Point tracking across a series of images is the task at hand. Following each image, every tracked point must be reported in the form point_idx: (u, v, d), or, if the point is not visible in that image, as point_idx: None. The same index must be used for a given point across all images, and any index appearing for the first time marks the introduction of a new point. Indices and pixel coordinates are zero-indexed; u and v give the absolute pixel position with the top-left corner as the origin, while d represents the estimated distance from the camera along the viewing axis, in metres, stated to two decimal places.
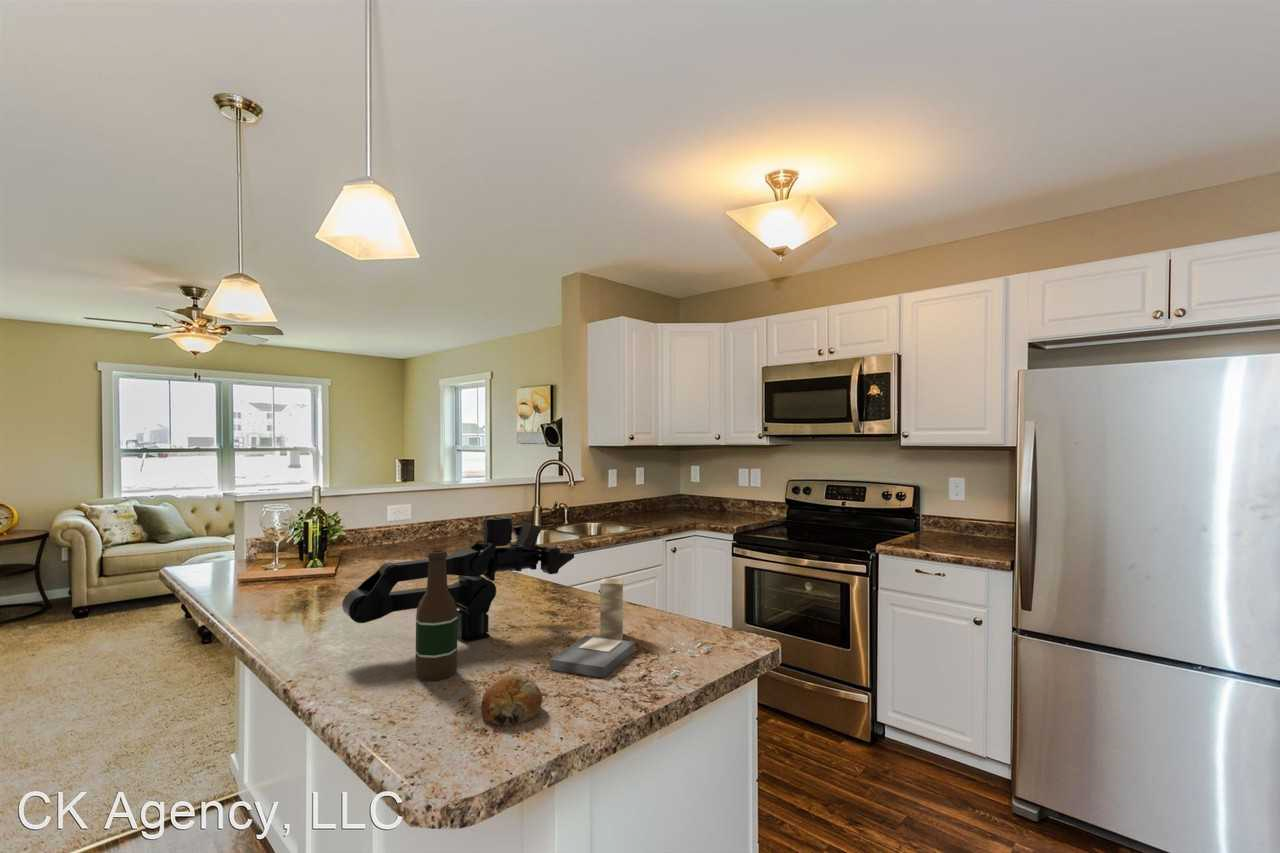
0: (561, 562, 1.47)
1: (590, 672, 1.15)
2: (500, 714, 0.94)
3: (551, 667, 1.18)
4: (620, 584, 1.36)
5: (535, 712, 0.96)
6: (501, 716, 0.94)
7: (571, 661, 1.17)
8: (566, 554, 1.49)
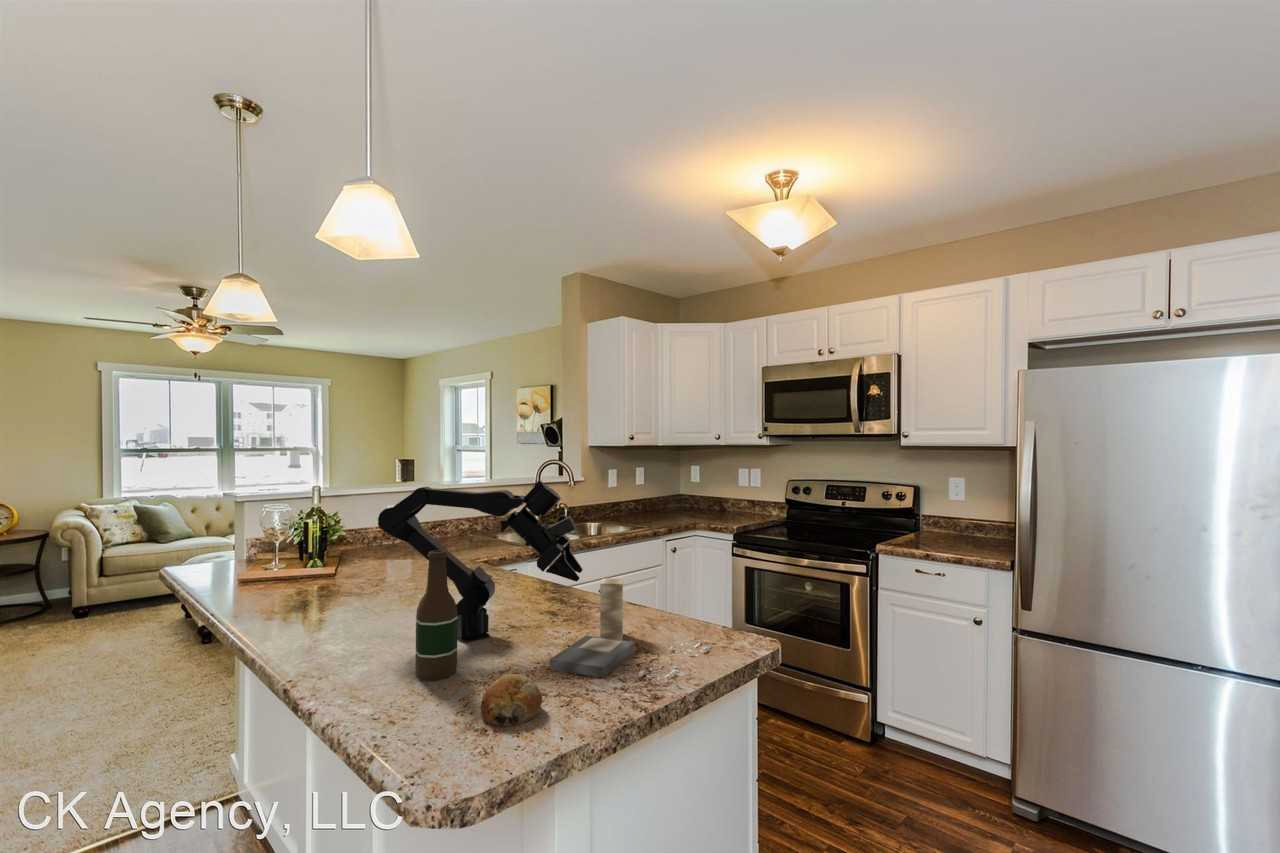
0: (559, 571, 1.33)
1: (590, 672, 1.15)
2: (500, 714, 0.94)
3: (551, 667, 1.18)
4: (620, 584, 1.36)
5: (535, 713, 0.96)
6: (501, 716, 0.94)
7: (571, 661, 1.17)
8: (570, 570, 1.34)
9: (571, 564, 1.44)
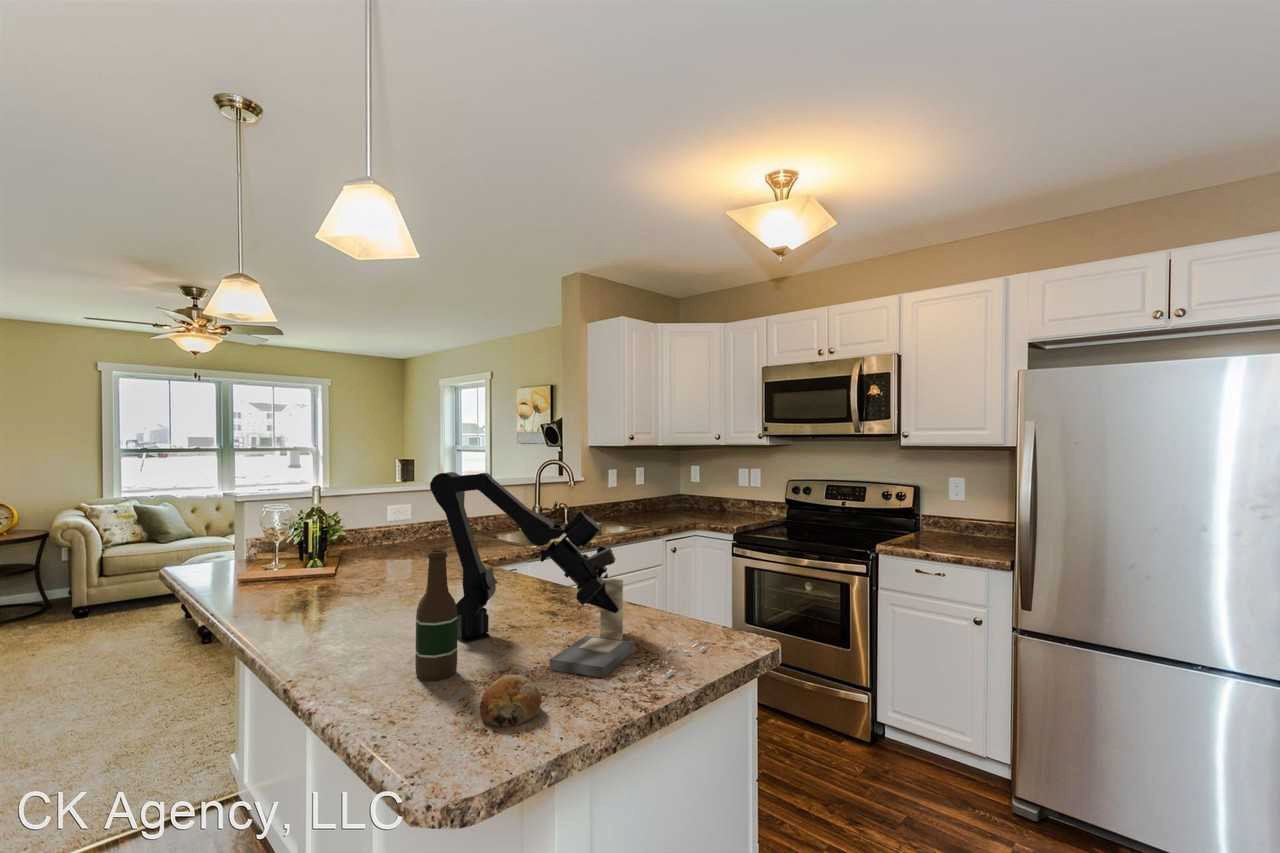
0: (599, 602, 1.34)
1: (590, 672, 1.15)
2: (499, 715, 0.94)
3: (551, 667, 1.18)
4: (620, 584, 1.36)
5: (534, 713, 0.96)
6: (500, 717, 0.94)
7: (571, 661, 1.17)
8: (610, 601, 1.34)
9: None
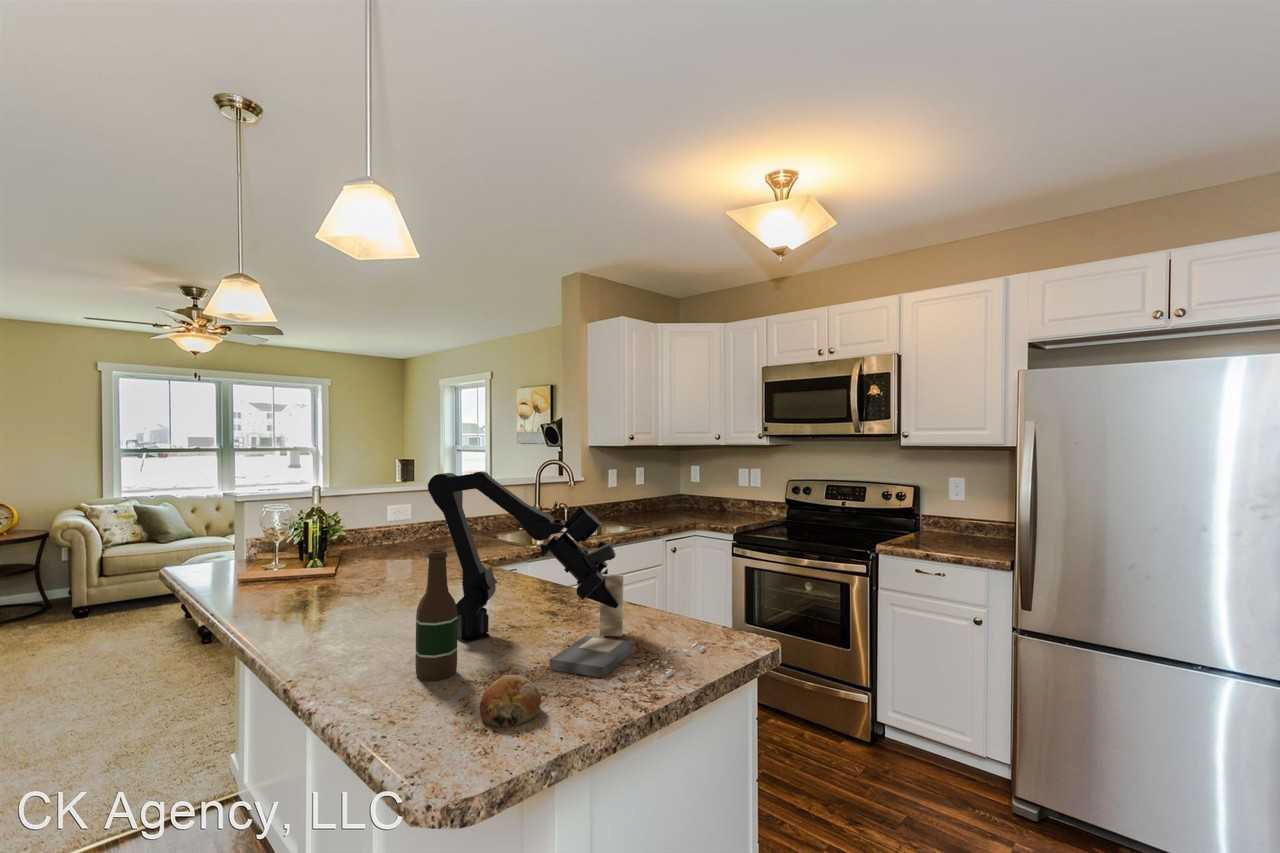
0: (599, 597, 1.34)
1: (590, 672, 1.15)
2: (499, 715, 0.94)
3: (551, 667, 1.18)
4: (620, 579, 1.36)
5: (534, 713, 0.96)
6: (499, 717, 0.94)
7: (571, 661, 1.17)
8: (610, 596, 1.35)
9: None
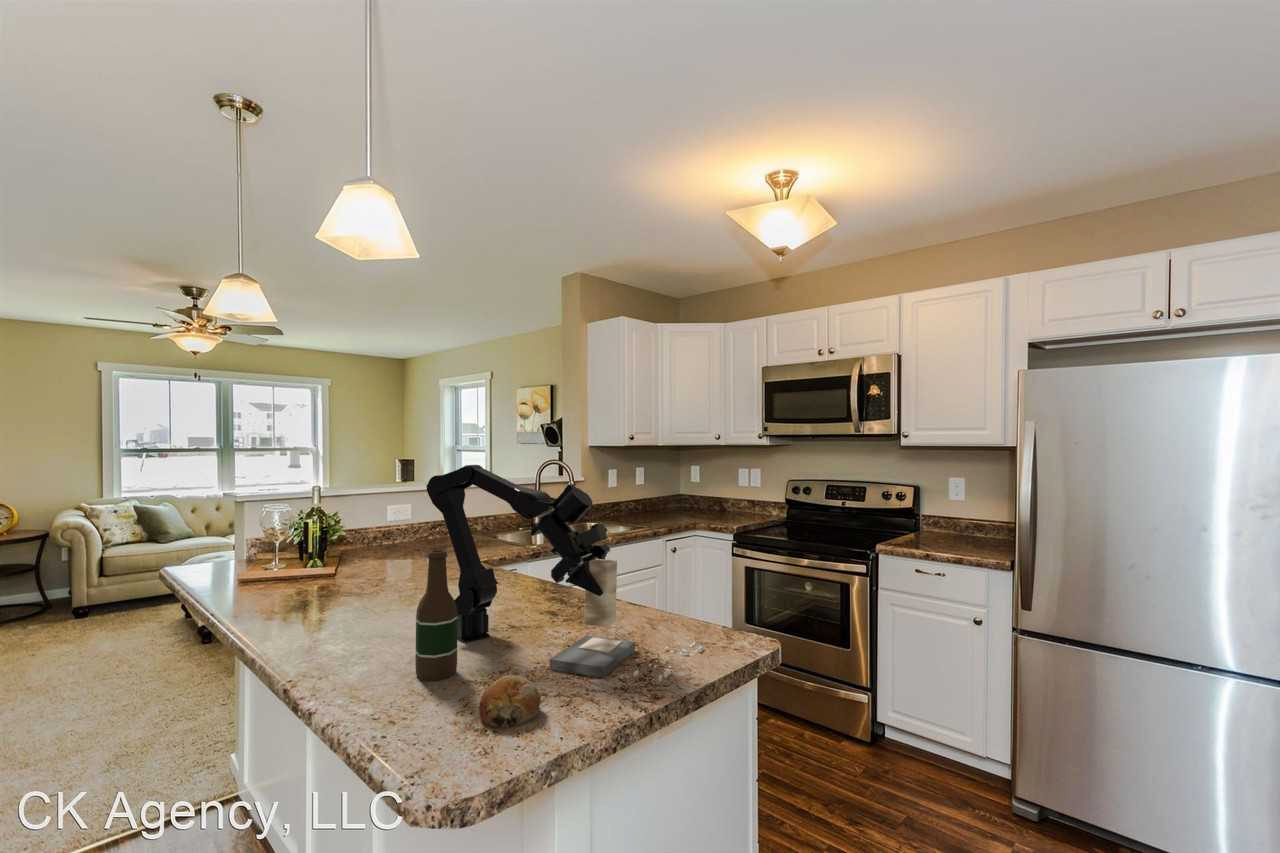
0: (581, 583, 1.24)
1: (590, 672, 1.15)
2: (498, 716, 0.94)
3: (551, 667, 1.18)
4: (605, 565, 1.24)
5: (533, 714, 0.96)
6: (499, 717, 0.94)
7: (571, 661, 1.17)
8: (592, 583, 1.23)
9: None
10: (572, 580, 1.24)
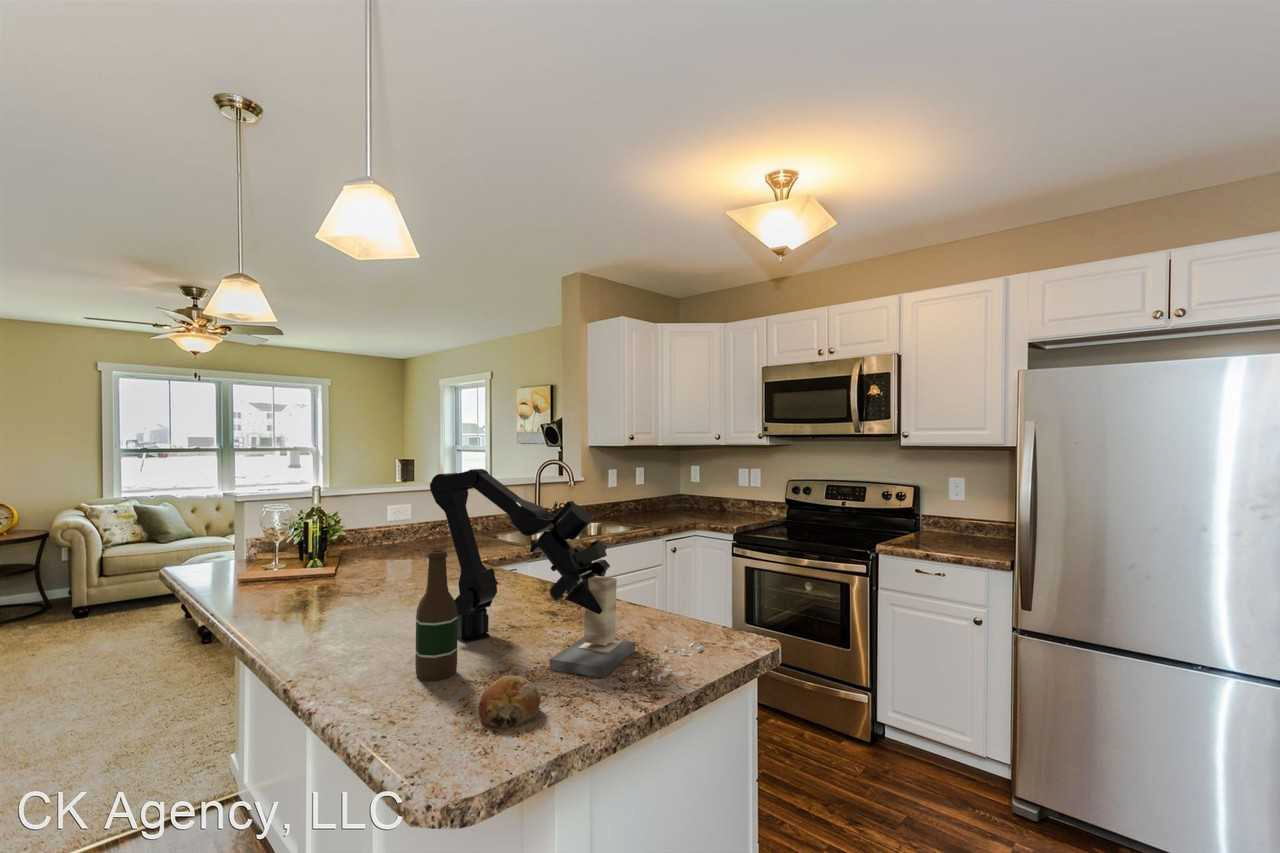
0: (580, 601, 1.24)
1: (590, 672, 1.15)
2: (498, 716, 0.94)
3: (551, 667, 1.18)
4: (605, 583, 1.24)
5: (533, 714, 0.96)
6: (499, 718, 0.94)
7: (571, 661, 1.17)
8: (592, 601, 1.23)
9: None
10: (571, 598, 1.24)
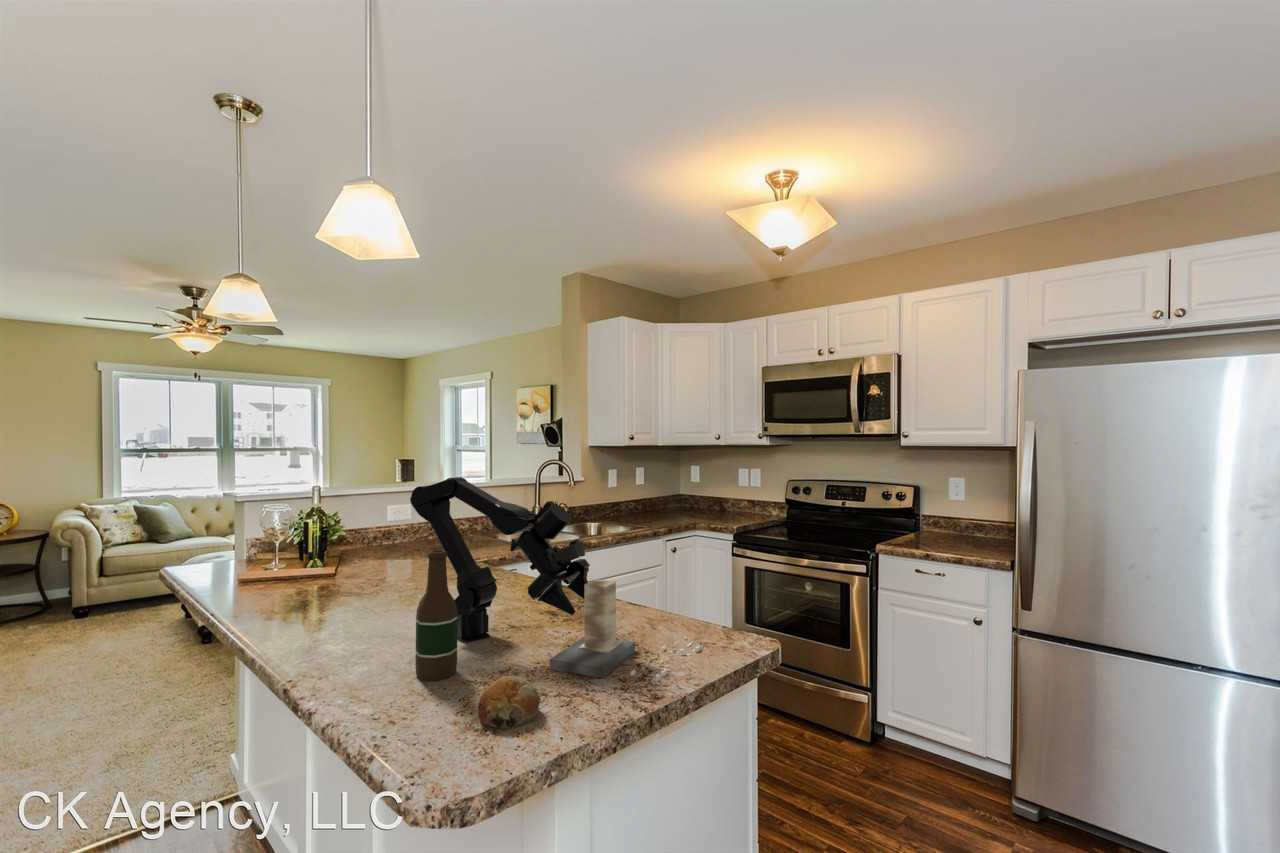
0: (554, 601, 1.24)
1: (590, 672, 1.15)
2: (497, 717, 0.93)
3: (551, 667, 1.18)
4: (604, 587, 1.23)
5: (532, 715, 0.95)
6: (498, 718, 0.93)
7: (571, 661, 1.17)
8: (565, 602, 1.23)
9: (583, 593, 1.33)
10: (545, 599, 1.24)
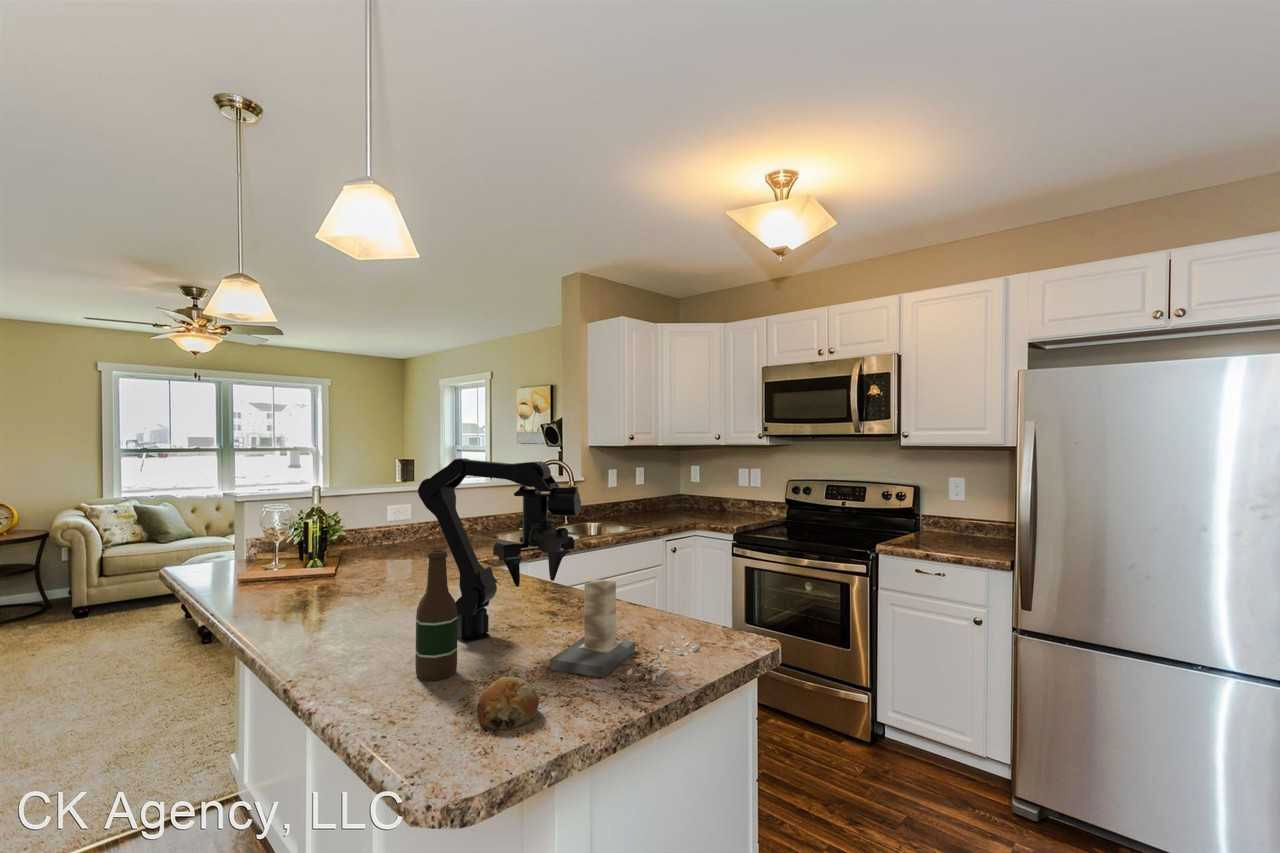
0: (509, 566, 1.33)
1: (590, 672, 1.15)
2: (496, 717, 0.93)
3: (551, 667, 1.18)
4: (604, 587, 1.23)
5: (531, 716, 0.95)
6: (497, 719, 0.93)
7: (571, 661, 1.17)
8: (514, 575, 1.32)
9: (551, 567, 1.39)
10: None
